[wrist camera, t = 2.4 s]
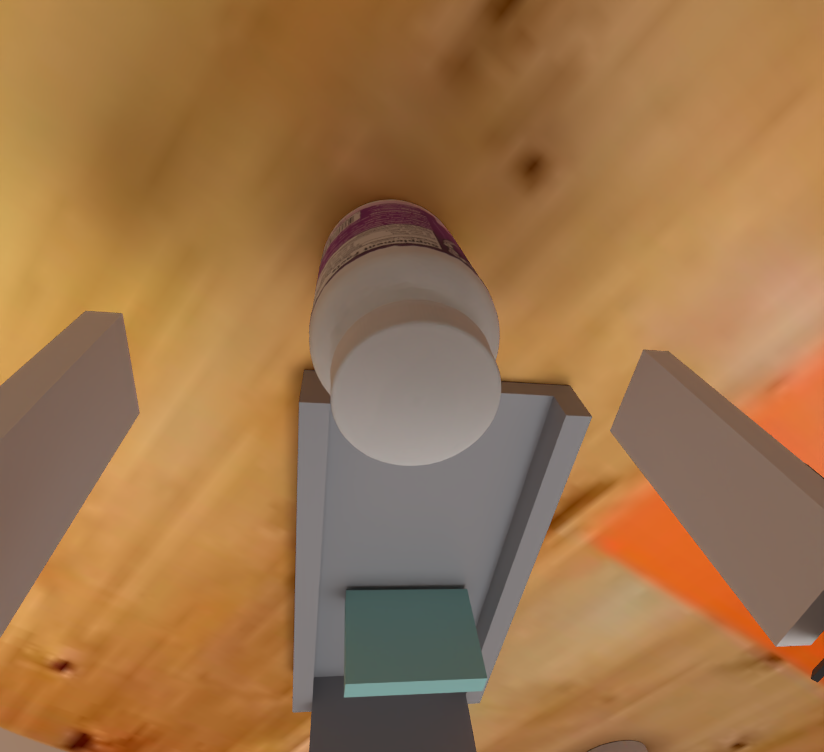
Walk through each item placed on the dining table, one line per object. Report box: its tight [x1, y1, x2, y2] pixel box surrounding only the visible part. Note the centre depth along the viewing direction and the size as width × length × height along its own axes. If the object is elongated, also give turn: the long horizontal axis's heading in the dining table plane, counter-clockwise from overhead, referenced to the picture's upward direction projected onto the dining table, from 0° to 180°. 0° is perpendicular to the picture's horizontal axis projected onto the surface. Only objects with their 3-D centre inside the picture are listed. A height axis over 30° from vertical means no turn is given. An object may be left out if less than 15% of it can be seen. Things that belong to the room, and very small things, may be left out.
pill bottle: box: [309, 199, 501, 466], centre depth 15 cm, size 5×5×10 cm
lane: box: [293, 370, 592, 752], centre depth 25 cm, size 24×12×7 cm, turn 172°
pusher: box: [344, 589, 488, 697], centre depth 27 cm, size 5×7×5 cm
